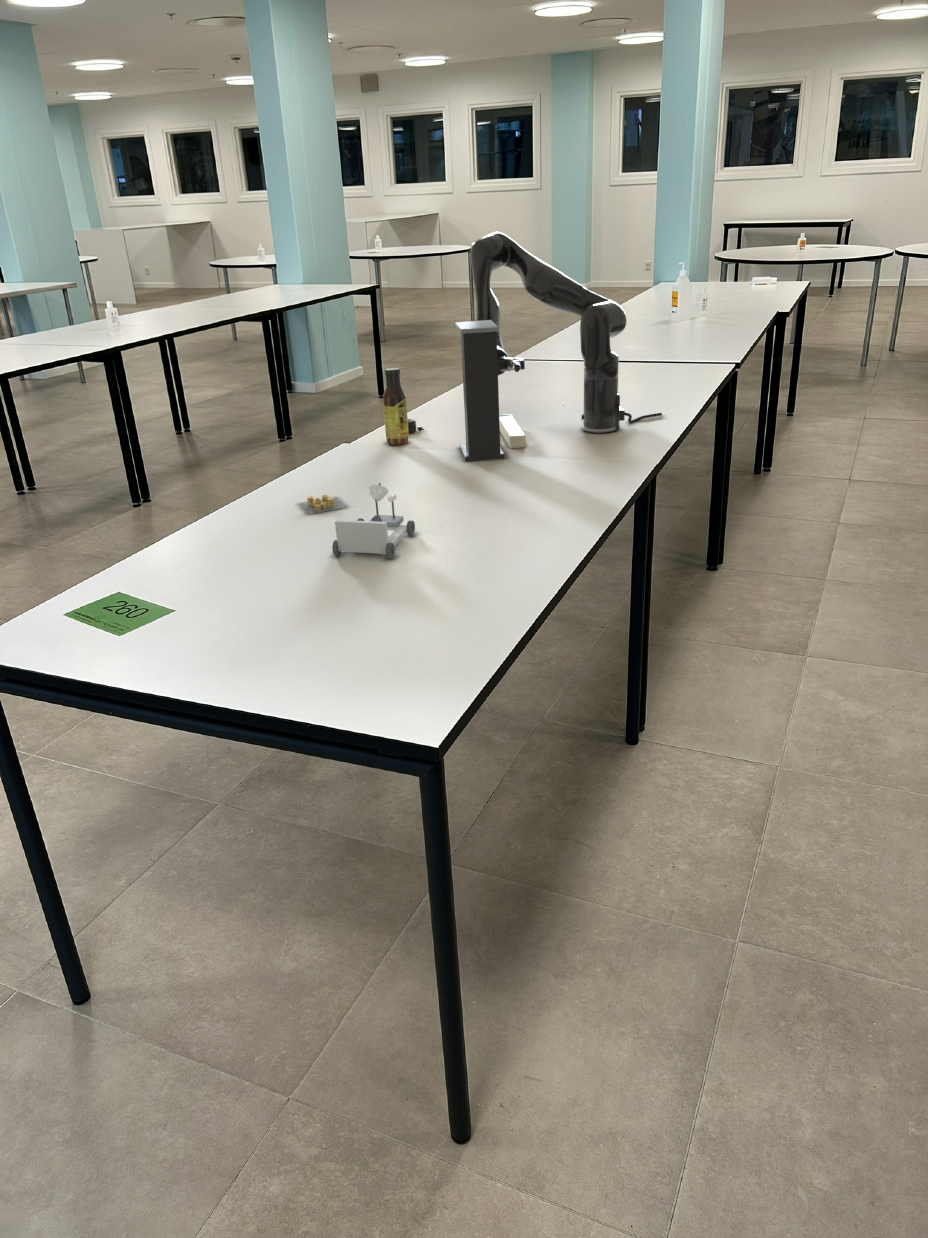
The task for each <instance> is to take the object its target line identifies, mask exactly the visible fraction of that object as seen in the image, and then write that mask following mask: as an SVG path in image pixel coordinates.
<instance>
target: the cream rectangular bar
mask: <svg viewBox="0 0 928 1238" xmlns="http://www.w3.org/2000/svg"><path fill="white" fill-rule="evenodd" d="M499 422H500V434H501V435H502V437H503V438H504V440H505V442H506V444H507V445H508V447H509V449H517V448H518V449H519V448H526V434H525V433H524V431H523V430H522V429H521V427H520V426H519V424H518V423H517V421H516V419H515V418H514V416H513V414H512V413H506V414H505V413H504V414H502V413H501V414H499Z"/></svg>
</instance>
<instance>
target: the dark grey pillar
mask: <svg viewBox="0 0 928 1238" xmlns="http://www.w3.org/2000/svg"><path fill="white" fill-rule="evenodd" d="M455 328H456V329H457V330H458V331H459V333H460V343H461V345H460V347H461V366H462V387H463V389H462V390H463V407H464V408H463V409H464V427H465V428H464V431H465V443H459V449H460V451H461V455H462V456H463V459H464V461H465V462H475V461H476V462H478V461H489V460H503V459H505V458H506V457H505V453H504V451H503V449H502V447H501V432H500V422H499V415H500V392H499V375H498V360H497V332H496V331H499V328H500V326H499V327H498V326H497V325H496V324H495V323H494V322H493V321H491V320H484V321H476V320H469V321H455Z"/></svg>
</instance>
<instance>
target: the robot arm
mask: <svg viewBox="0 0 928 1238" xmlns="http://www.w3.org/2000/svg"><path fill="white" fill-rule="evenodd" d="M469 254H470V255H469V256H470V257H469V258H470V266H471V272H472V280H473V286H474V293H475V301H476V302H475V303H476V320H475V321H484V320H491V321H493V322H494V323H495V324H496V325H497V326H498V327H499V331H496V332H497V360H498V376H502V375H503V374H504V373H505V372H512V371H514V372H515V373H519V372H520V371H521V370H523V371H524V370H525V368H526V367H525V365H526V364H525V360H526V359H524V358H522V357H521V356H517V357H516V358H515V360H514V358H513V357H509V356H508V354H507V352H506V351H505V348H504V344H503V340H502V337H501V331H500V329H501V328H500V326H501V325H500V323H501V308H500V303H499V300H498V299H497V297H496V295H495V294H494V291H493V290H492V286H491V276H492V272H494V271H495V270H497V269H500V268H502V267H507V268H509V269H510V270H512V271H514V272H515V273H517V274H518V275H519V276H520V278H521V281H522V284H523V287H524V290H525V291H526V292H527V294H528V295H529V296H531V297H532V298H534V299H535V300H537V301H538V302H539V303H541V304H543V305H545V306H547V307H549V308H551V309H555V310H558V311H562V312H566V313H569V314H573V315H576V316H578V317H580V323H579V333H580V334H579V336H580V353H581V357H582V360H583V414H582V415H581V421H583V423H582V430H583V431H584V432H587V433H591V434H593V433H594V434H606V433H611V432H616V431H620V422H621V421H625V416H626V417H628V419H627V422H628V423H629V424H632V423H636V422H639V421H641V420H643V419H649V418H654V417H660V416H663V414H662V412H657V413H652V414H644V415H641V416H638V417H637V418H634V419H632V418H633V417H632V414H631V413H629V412H626V411H625V409H624V408H622V406H621V395H620V394H619V366H620V357H619V355H618V354H617V353H616V352H614V351H612V349H611V338H615V337H617V336H619V335H621V333H622V332H624V330H625V329H626V326H627V316H626V312H625V311H624V309H623V308H622V306H621V305H620V304H619V303H617V302H615V301H613V300H611V299H608V298H606V297H604V296H602V295H600V294H597V293H595V292H593V291H592V290H589V289H588V288H586V287H585V286H583V285H582V284H580V283H578V282H577V281H576V280H574V279H572V278H570V277H569V276H567V275H565V274H564V273H563V272H561V271H559V270H558V269H557V268H555V267H553V266H552V265H550V264H548V263H546V262H544V261H542V260H541V259H539V258H538V257H537V256H534V255H533V254H532V253H530V252H529V251H527V250H526V249H524V248H523V247H522V246H521V245H520V244H518V243H517V242H516V241H515V240H513V239H512V238H511V237H509V236H508V235H507V234H505V233H503V232H499V231H495V232H491V233H489V234H487V235H485V236H483V237H480V238H478V239H477V240H474V242H473V243H472V244H471V247H470V253H469Z"/></svg>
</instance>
